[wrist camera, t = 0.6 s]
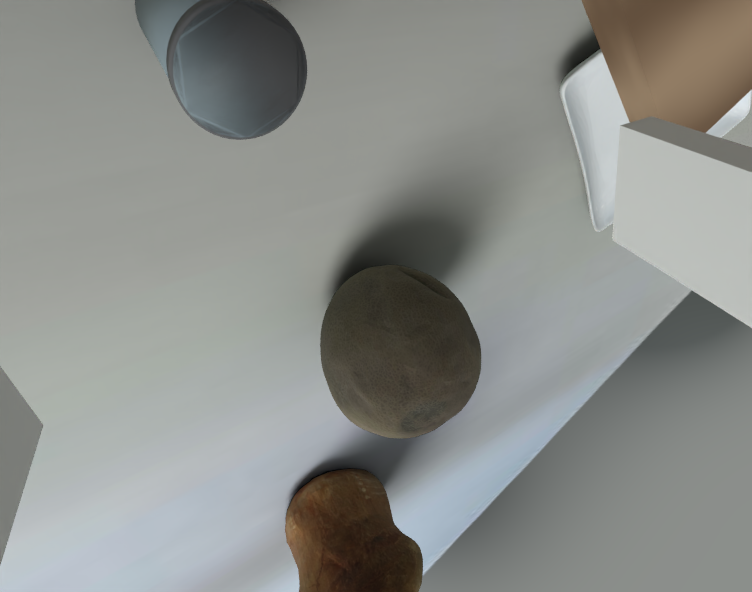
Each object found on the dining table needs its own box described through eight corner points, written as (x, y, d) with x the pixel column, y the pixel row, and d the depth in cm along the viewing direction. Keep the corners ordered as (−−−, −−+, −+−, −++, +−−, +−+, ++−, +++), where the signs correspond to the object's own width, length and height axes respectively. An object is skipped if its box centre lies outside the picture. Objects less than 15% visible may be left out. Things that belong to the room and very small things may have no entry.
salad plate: (727, 104, 62) (755, 115, 60) (577, 222, 63) (599, 238, 61) (731, -88, 47) (769, -83, 44) (532, 73, 48) (559, 86, 45)
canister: (109, 11, 31) (139, 79, 23) (179, -77, 30) (234, -39, 22) (197, 85, 36) (248, 163, 28) (260, 10, 35) (332, 68, 27)
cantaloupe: (265, 301, 49) (328, 427, 39) (394, 210, 50) (490, 312, 39) (334, 373, 60) (398, 488, 49) (441, 298, 60) (526, 397, 50)
